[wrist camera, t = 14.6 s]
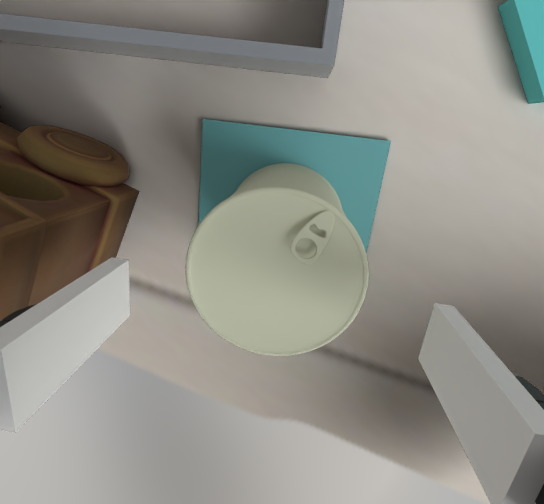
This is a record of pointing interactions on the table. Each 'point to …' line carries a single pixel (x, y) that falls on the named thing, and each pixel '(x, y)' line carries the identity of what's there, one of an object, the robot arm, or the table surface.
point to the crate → (180, 44)
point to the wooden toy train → (57, 210)
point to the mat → (295, 150)
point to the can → (278, 264)
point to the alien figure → (526, 43)
